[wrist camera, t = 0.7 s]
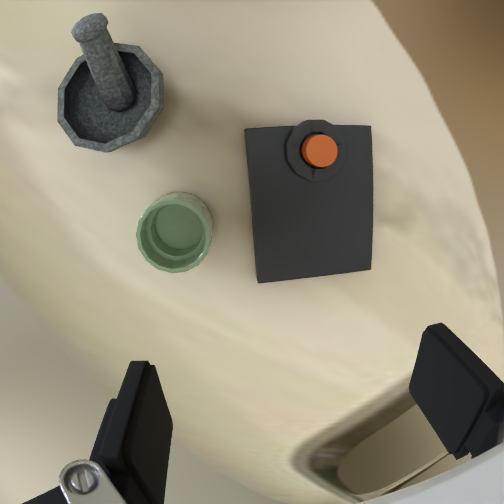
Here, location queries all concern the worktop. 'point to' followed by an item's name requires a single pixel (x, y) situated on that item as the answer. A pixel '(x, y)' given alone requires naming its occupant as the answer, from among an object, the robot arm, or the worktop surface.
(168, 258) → the bowl
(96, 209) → the worktop surface
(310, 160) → the button
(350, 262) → the scale
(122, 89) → the mortar and pestle
